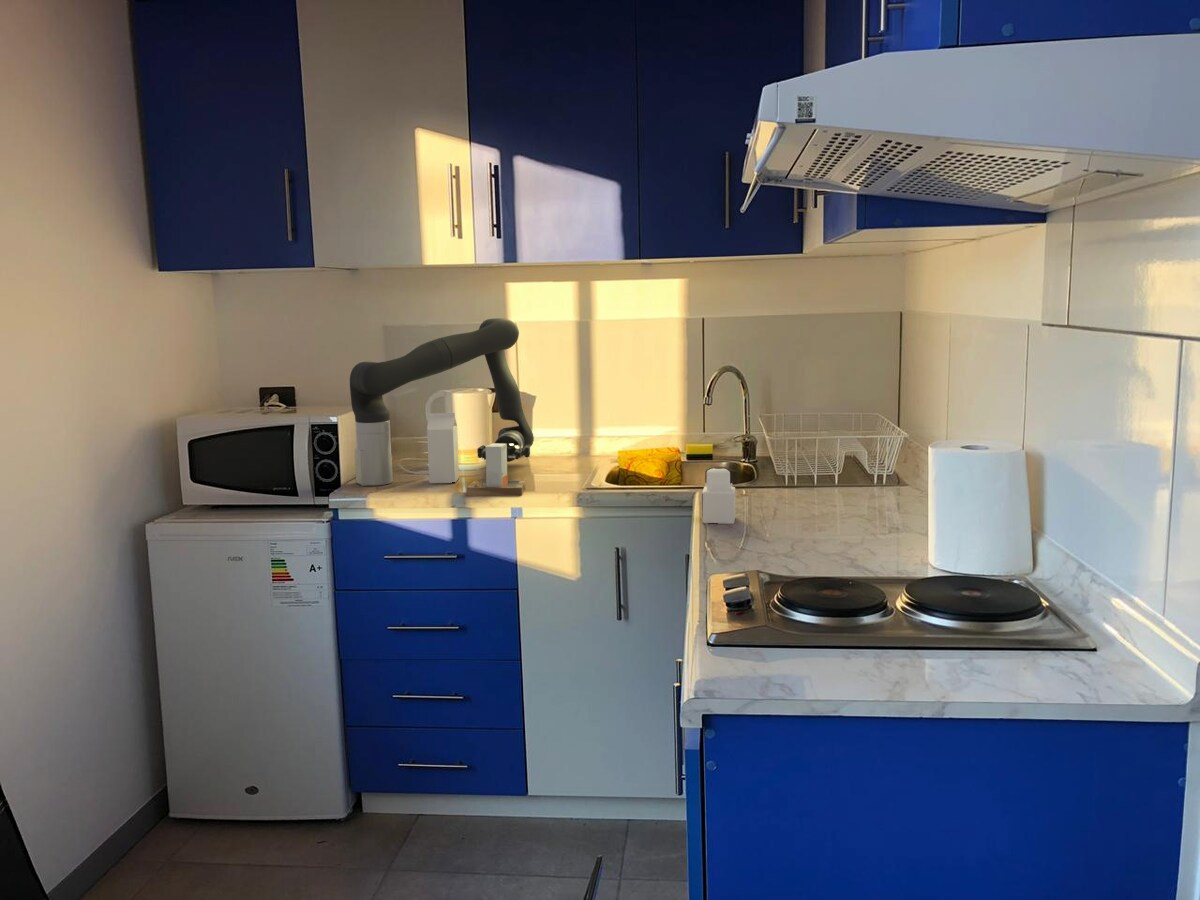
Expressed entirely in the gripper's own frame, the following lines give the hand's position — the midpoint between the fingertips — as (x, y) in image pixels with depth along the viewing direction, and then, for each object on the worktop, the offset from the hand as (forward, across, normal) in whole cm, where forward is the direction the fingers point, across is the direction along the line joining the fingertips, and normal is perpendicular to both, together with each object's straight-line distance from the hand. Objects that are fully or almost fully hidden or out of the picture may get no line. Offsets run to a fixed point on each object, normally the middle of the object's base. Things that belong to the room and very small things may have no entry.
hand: (500, 455), depth 282 cm
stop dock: (+5, 0, +8) cm, 10 cm away
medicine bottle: (+45, +55, +8) cm, 72 cm away
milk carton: (-6, -17, +8) cm, 20 cm away
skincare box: (+10, 0, +8) cm, 12 cm away
